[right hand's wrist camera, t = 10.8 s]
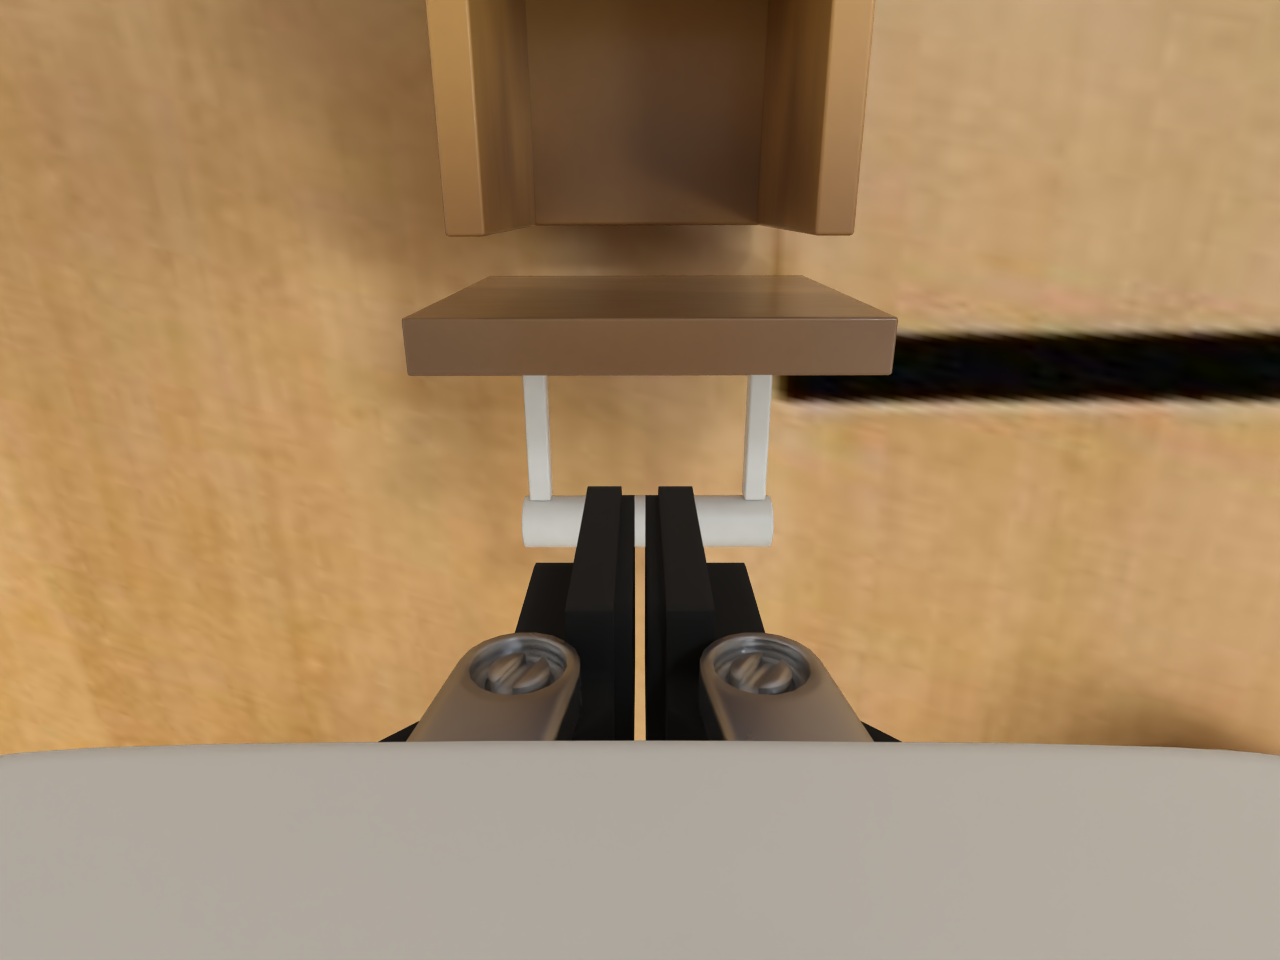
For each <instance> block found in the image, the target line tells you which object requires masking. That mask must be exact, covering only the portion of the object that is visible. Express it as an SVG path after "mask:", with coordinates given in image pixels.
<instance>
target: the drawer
mask: <svg viewBox="0 0 1280 960" xmlns="http://www.w3.org/2000/svg"><path fill="white" fill-rule="evenodd" d="M425 3H426V14H427V26H428V37H429V48H430V60H431V71H432V83H433V94H434V106H435V117H436V128H437V140H438V151H439V163H440V174H441V186H442V197H443V208H444V220H445V231H446V235H447V236H486V235H491V234H496V233H501V232H505V231H510V230H515V229H520V228H525V227H530V226H534V225H762V226H768V227H773V228H779V229H784V230H790V231H796V232H801V233H807V234H812V235H852V234H853V232H854V226H855V215H856V204H857V193H858V182H859V171H860V160H861V149H862V139H863V128H864V117H865V106H866V95H867V84H868V73H869V62H870V51H871V41H872V30H873V19H874V8H875V0H425ZM897 323H898V319H897V317H894V316H892V315H890V314H888V313H885V312H883V311H881V310H879V309H876V308H874V307H872V306H870V305H867V304H865V303H863V302H861V301H858V300H856V299H854V298H852V297H849V296H847V295H845V294H843V293H840V292H838V291H836V290H834V289H831V288H829V287H827V286H825V285H822V284H820V283H818V282H816V281H813V280H811V279H809V278H807V277H804V276H490V277H488V278H486V279H484V280H482V281H480V282H477V283H475V284H473V285H471V286H469V287H467V288H465V289H463V290H461V291H459V292H457V293H455V294H453V295H451V296H449V297H447V298H444V299H442V300H440V301H438V302H436V303H434V304H432V305H430V306H428V307H426V308H424V309H422V310H420V311H418V312H416V313H414V314H411V315H409V316H407V317H405V318H403V319H402V327H403V336H404V345H405V354H406V363H407V372H408V375H410V376H523V389H524V406H525V424H526V441H527V459H528V476H529V494H530V496H526V497H525V498H524V502H523V508H522V537H523V543H524V545H525V547H577V542H578V537H579V531H580V526H581V521H582V515H583V510H584V504H585V499H586V496H552V493H553V489H552V467H551V445H550V423H549V401H548V379H547V376H582V375H748V380H747V401H746V421H745V442H744V463H743V484H742V493H743V495H694V499H695V504H696V510H697V515H698V521H699V526H700V531H701V537H702V542H703V547H769V546H770V545H771V542H772V538H773V526H774V520H773V506H772V501H771V498H770V496H768V495H765V493H766V476H767V459H768V443H769V426H770V409H771V392H772V376H773V375H889V374H891V373H892V367H893V358H894V349H895V341H896V332H897ZM635 547H645V495H640V496H635Z"/></svg>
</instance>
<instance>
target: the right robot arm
mask: <svg viewBox="0 0 1280 960" xmlns="http://www.w3.org/2000/svg"><path fill="white" fill-rule="evenodd" d="M634 708H635V495H622V488H621V486H588V488H587V494H586V499H585V504H584V510H583V515H582V521H581V526H580V531H579V537H578V542H577V548H576V553H575V558H574V563H536V564H535V566H534V569H533V573H532V576H531V580H530V583H529V586H528V590H527V593H526V597H525V600H524V604H523V607H522V610H521V614H520V617H519V621H518V624H517V628H516V631H515V633H513V634H507V635H501V636H498V637H495V638H492V639H489V640H486V641H483V642H482V643H480V644H478V645H477V646H475V647H473V648H472V649H470V650H469V651H468V652H467V653H466V654H465V655H464V656H463V657H462V658H461V659H460V661H459V662H458V664H457V665H456V667H455V668H454V670H453V671H452V673H451V674H450V676H449V677H448V679H447V680H446V682H445V683H444V685H443V686H442V688H441V689H440V691H439V692H438V694H437V695H436V697H435V698H434V700H433V701H432V703H431V704H430V706H429V708H428V709H427V711H426V712H425V714H424V715H423V717H422V718H421V720H420V721H418V722H416V723H414V724H412V725H411V726H409V727H407V728H405V729H403V730H401V731H399V732H397V733H395V734H393V735H391V736H389V737H387V738H385V739H383V740H381V741H379V742H350V743H258V744H200V745H168V746H136V747H103V748H82V749H68V750H54V751H40V752H26V753H15V754H8V755H0V960H1280V755H1271V754H1263V753H1255V752H1243V751H1227V750H1211V749H1195V748H1179V747H1148V746H1111V745H1074V744H1037V743H930V742H901V741H899V740H897V739H895V738H893V737H891V736H889V735H887V734H885V733H883V732H881V731H879V730H877V729H875V728H873V727H871V726H869V725H867V724H866V723H864V722H862V721H860V720H859V718H858V717H857V715H856V714H855V712H854V711H853V709H852V708H851V706H850V704H849V703H848V701H847V700H846V698H845V697H844V695H843V694H842V692H841V691H840V689H839V688H838V686H837V685H836V683H835V682H834V680H833V679H832V677H831V676H830V674H829V673H828V671H827V670H826V668H825V667H824V665H823V664H822V662H821V661H820V659H819V658H818V657H817V656H816V655H815V654H814V653H813V652H812V651H811V650H810V649H808V648H807V647H805V646H803V645H802V644H800V643H798V642H797V641H794V640H791V639H788V638H785V637H782V636H779V635H773V634H767V633H765V631H764V628H763V624H762V621H761V617H760V614H759V610H758V607H757V604H756V600H755V597H754V593H753V590H752V586H751V583H750V580H749V576H748V573H747V569H746V566H745V564H744V563H706V558H705V553H704V548H703V542H702V537H701V531H700V526H699V521H698V515H697V510H696V504H695V499H694V494H693V488H692V486H659V488H658V495H645V708H646V741H634Z"/></svg>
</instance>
